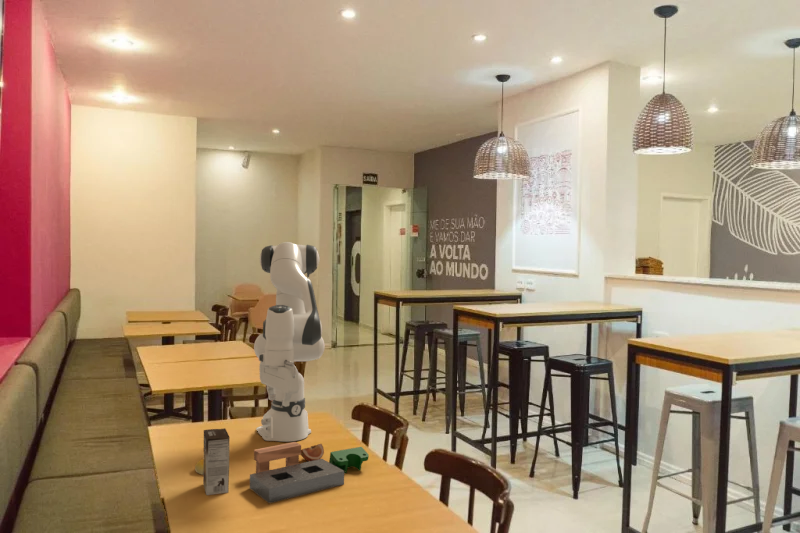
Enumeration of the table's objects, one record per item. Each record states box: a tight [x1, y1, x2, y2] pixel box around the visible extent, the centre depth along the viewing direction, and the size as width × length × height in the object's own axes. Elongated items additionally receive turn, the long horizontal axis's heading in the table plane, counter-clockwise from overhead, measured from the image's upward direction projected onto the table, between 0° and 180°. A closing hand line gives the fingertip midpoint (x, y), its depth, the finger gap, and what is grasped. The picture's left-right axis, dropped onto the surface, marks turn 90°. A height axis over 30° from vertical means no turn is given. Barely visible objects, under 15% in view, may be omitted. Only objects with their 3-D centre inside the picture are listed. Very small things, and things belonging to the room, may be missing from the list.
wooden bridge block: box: [253, 441, 302, 473], centre depth 187 cm, size 4×14×8 cm, turn 128°
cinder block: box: [249, 458, 345, 504], centre depth 176 cm, size 13×24×4 cm, turn 128°
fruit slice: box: [300, 443, 325, 462], centre depth 198 cm, size 8×7×5 cm
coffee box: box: [202, 428, 230, 496], centre depth 174 cm, size 9×6×16 cm
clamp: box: [328, 446, 370, 474], centre depth 191 cm, size 12×6×9 cm, turn 116°
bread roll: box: [194, 458, 204, 476], centre depth 188 cm, size 8×9×4 cm
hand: (278, 402), depth 186 cm, fingers open, 8 cm apart
